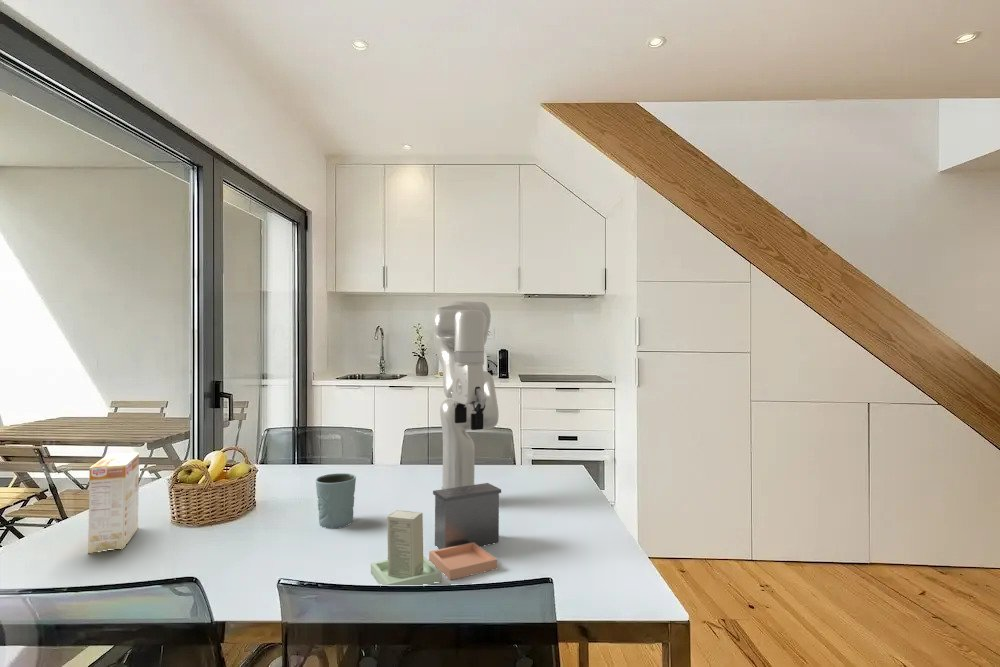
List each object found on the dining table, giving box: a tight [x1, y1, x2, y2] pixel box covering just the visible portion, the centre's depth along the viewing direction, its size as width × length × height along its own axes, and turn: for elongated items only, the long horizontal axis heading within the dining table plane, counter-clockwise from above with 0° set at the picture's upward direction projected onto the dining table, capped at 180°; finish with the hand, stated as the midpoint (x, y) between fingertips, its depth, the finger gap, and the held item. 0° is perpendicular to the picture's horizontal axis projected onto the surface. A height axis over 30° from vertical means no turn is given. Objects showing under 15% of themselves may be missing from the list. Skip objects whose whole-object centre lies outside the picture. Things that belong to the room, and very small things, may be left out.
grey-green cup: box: [315, 472, 357, 529], centre depth 139 cm, size 10×10×12 cm
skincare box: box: [386, 509, 424, 578], centre depth 107 cm, size 6×4×12 cm
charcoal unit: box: [432, 482, 502, 549], centre depth 125 cm, size 7×15×13 cm, turn 120°
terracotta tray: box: [428, 542, 498, 581], centre depth 113 cm, size 11×11×2 cm
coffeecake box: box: [87, 452, 140, 554], centre depth 126 cm, size 15×7×20 cm, turn 23°
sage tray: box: [370, 555, 442, 585], centre depth 107 cm, size 11×11×2 cm
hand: (468, 425), depth 133 cm, fingers open, 9 cm apart
